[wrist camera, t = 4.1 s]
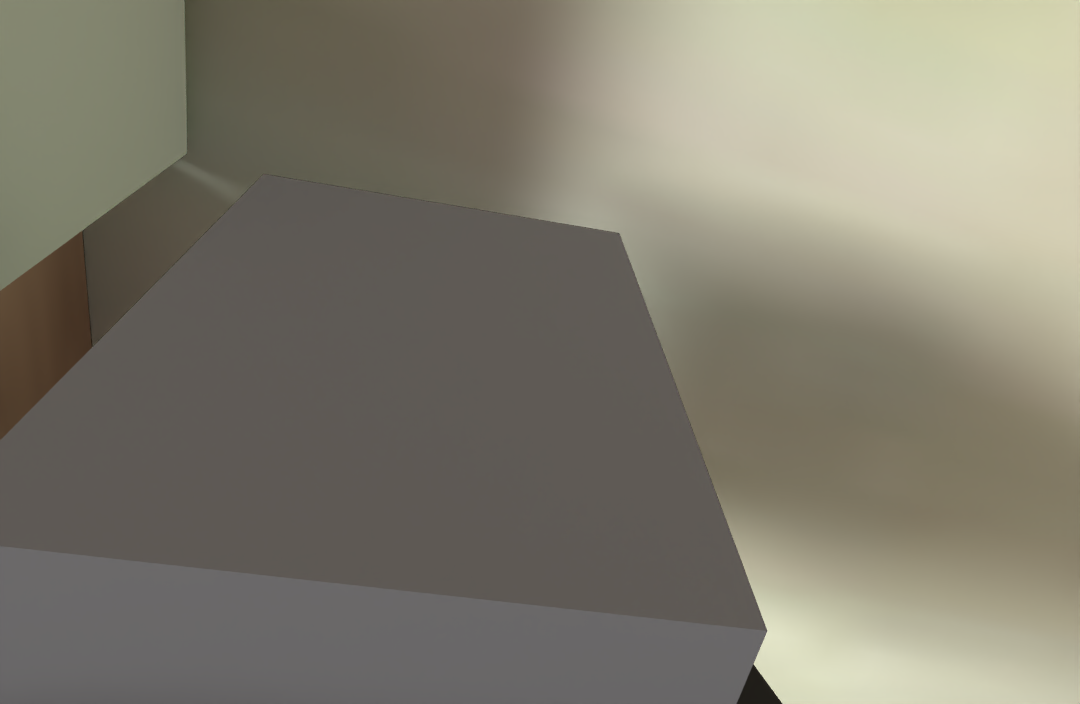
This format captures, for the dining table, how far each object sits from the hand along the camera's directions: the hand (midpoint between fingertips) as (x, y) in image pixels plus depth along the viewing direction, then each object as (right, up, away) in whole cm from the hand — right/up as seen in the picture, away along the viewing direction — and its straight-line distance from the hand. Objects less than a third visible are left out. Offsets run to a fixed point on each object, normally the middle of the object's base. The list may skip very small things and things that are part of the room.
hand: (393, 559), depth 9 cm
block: (0, +1, +2) cm, 2 cm away
